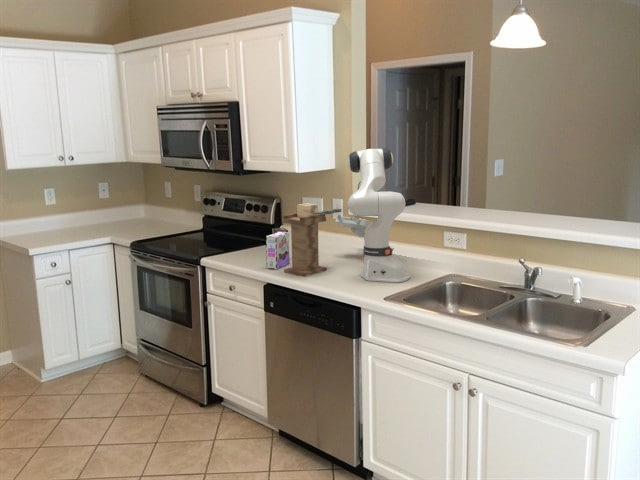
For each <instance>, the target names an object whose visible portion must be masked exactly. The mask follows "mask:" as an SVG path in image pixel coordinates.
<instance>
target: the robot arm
mask: <svg viewBox="0 0 640 480" xmlns="http://www.w3.org/2000/svg"><path fill="white" fill-rule="evenodd" d="M393 164H394V156H393V153H392V151H391V150H390V149H389V148H388V147H387V148H386V147H382V148H367V149H362V150H358V151H357V150H355V151H352V152H350V153H349V155H348V159H347V165H348V168H349V169H350V171H351V172H352V173H360V181H359V182H358V184H357V189H356V191H355V192H354V193H352V194H351V195H350V196H349V198H348V201H347V207H348V210H349V212H350V213H351V215H353V216H351V217H348V216H343V215H340V214H337V215H336V219H335V223H336V224H337V225H339V226H341V227H343V228H348V229H350V230H351V233H352V234H354V235H355V236H357V237H359V238H361V237H364V240H363V242H364V245H363V250H362V251H363V266H362V270H361V275H360V277H361V278H363V279H364V280H366V281H369V282H370V281H371V282H384V283H385V282H386V283H394V284H395V283H396V284H399V283H404V282H406V281H408V280H410V279H411V274H409V273H407V272H406V266H405V264H404V263H403V262H402V261H401V260H400V259H398V258H397V257H396V256H395V255H394V254H393V251H394V250H395V248H394V247H391V246H390V243H389V242H390V231H391V227H392V225H393V222H394V221H395V220H396V218H397V217H399V215H401V214H402V213H403V212H404V210H405V208H406V200H405V197H404V195H403V194H402V193H401V192H395V191H380V190H381V189H382V188H383V187H384V186H385V184H386V180H387V179H386V173H385V170H389V169H391V168H392V166H393ZM356 215H357V216H378V219H377V220H376V222H374V223H373V222H370V221H368V220H366V219H361V218H356Z"/></svg>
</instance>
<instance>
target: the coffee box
mask: <svg viewBox="0 0 640 480" xmlns="http://www.w3.org/2000/svg"><path fill="white" fill-rule="evenodd" d="M271 230H272V234H275V233H278V232H289V230H288V229H287V228H284V227H276V228H275V227H274V228H272V229H271Z"/></svg>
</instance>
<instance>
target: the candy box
mask: <svg viewBox="0 0 640 480" xmlns="http://www.w3.org/2000/svg"><path fill="white" fill-rule="evenodd" d="M265 242H266V243H265V244H266V245H265V247H266V248H265V250H266V252H265V254H266V255H265V256H266V269H270V270H279V269H281V268H284V267H286V266H287V265H290V264H291V263H290V235H289V231H288V232H278V233H275V234H273V233H272V234H269V235H266V236H265Z"/></svg>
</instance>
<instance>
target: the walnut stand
mask: <svg viewBox="0 0 640 480" xmlns="http://www.w3.org/2000/svg"><path fill="white" fill-rule="evenodd" d="M282 217H283V218H282V223H283V224H289V225H290V235H291V236H290V237H291V267H287V268H284V269H283V272H284V273H286V274H289V273H290V275H294V276H299V277H304V278H305V277H307V276H311V275H314V274H319V273H322V272H326V271H327V270H328V268H327V266H322V265H319V264H320V263H319V258H320V257H319V256H320V255H319V223H323V222H327V217H326V215H325V214H318V215H312V216H306V217H297V213H296V212H295V213H290V214H284V215H283V216H282Z"/></svg>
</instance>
